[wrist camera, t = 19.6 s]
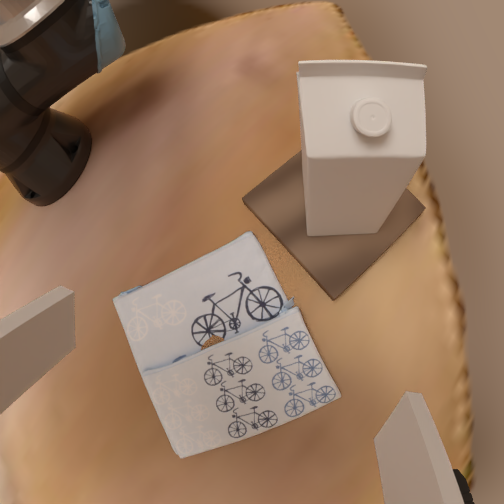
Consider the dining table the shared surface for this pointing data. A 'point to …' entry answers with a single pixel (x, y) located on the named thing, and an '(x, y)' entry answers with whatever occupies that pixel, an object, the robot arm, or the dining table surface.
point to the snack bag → (223, 349)
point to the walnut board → (323, 247)
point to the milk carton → (358, 140)
